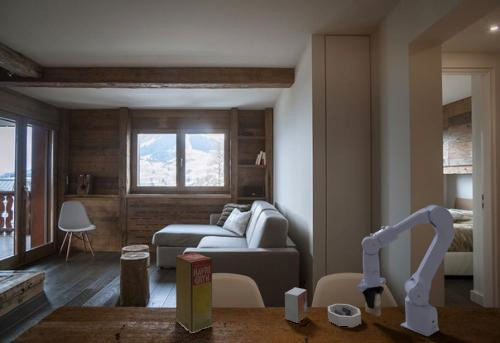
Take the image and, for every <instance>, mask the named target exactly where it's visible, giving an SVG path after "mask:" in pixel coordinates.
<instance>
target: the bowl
mask: <svg viewBox="0 0 500 343" xmlns="http://www.w3.org/2000/svg"><path fill="white" fill-rule="evenodd" d="M344 306H345V307H348V308H350V309H353V316H341V315H337V314H335V310H336V309H338V310H341V311H342V307H344ZM361 312H362V311H361V310H360V308H359V307H356V306H353V305H351V304H347V303H334V304H331V305H328V306H327V318H328V319H329V320H328V322H329V321H330V322H329V323H331V322H332V323H331V324H333V323H334V324H333V325H335V324H336V326H337V325H338V326H337V327H340V326H348V327H347V328H354V327H357V326H359V324H360V325H362V313H361Z"/></svg>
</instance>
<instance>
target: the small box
mask: <svg viewBox="0 0 500 343" xmlns="http://www.w3.org/2000/svg"><path fill="white" fill-rule="evenodd" d="M284 312H285V314H284V316H285V319H287V320H291V321H293V322H296V323H299V322H300V321H301V320H303V319H304V318H305V317H306V316H308V290H307V289H305V288H299V287H293V288H292V289H290V290H288V291H286V292H284ZM305 319H306V318H305ZM305 319H304V320H305ZM304 320H303V321H304ZM300 323H301V322H300ZM300 323H299V324H300Z"/></svg>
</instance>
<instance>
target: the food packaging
mask: <svg viewBox="0 0 500 343" xmlns="http://www.w3.org/2000/svg"><path fill="white" fill-rule="evenodd" d="M176 318H177V319H178V320H179V321H180V322H181V323H182V324H183V325H184V326H185V327H186V328H187V329H189V330H190V331H191V332H193V331H196V330H199V329H202V328H205V327H208V326H211V325H212V326H213V258H211V257H208V256H206V255H203V254H200V253H197V252H191V253H185V254H180V255H176V256H175V319H176Z"/></svg>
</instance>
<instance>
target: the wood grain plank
mask: <svg viewBox="0 0 500 343" xmlns="http://www.w3.org/2000/svg"><path fill="white" fill-rule="evenodd" d="M381 304H382V303H381V297H380V294H379V293H376V295H375V299H374V309H371V308H368V306H367V303H366V300H365V299H364V306H365V307H364V308H365V310H364V311H365V313H368V314H371V315H373V316H376V317H380V316H381V315H382V307H381Z"/></svg>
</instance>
